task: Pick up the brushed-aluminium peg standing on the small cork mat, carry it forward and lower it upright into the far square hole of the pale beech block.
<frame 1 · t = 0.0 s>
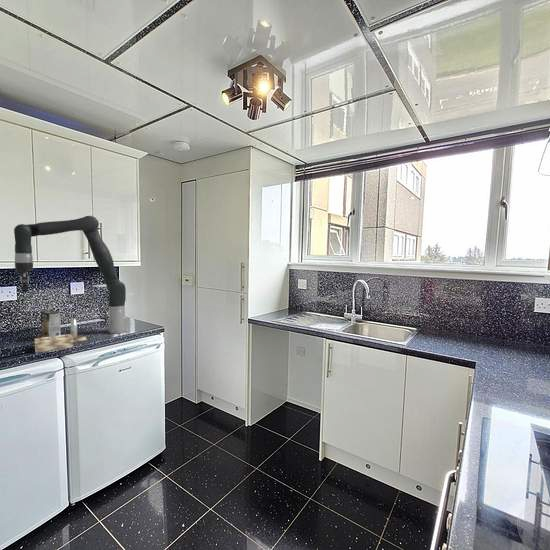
hand: (25, 291, 163), 29 cm above the counter, fingers open, 8 cm apart
peg: (74, 339, 174), resting on mat
mat: (78, 339, 176), on the counter
coffee box: (51, 339, 177), on the counter
hole block: (54, 347, 161), on the counter
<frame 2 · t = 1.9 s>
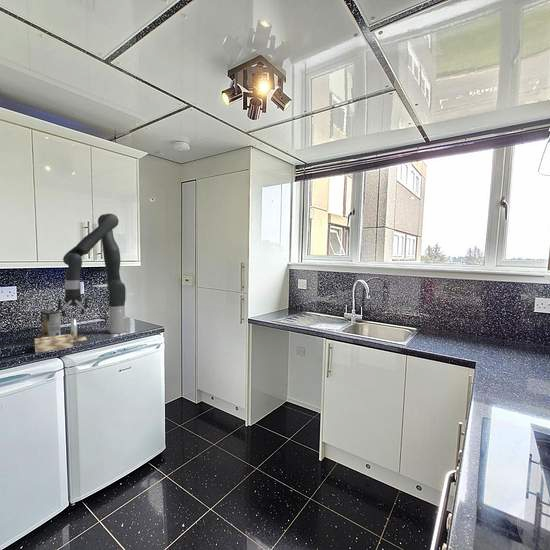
hand: (73, 315, 173), 14 cm above the counter, fingers open, 8 cm apart
nothing on the counter moved.
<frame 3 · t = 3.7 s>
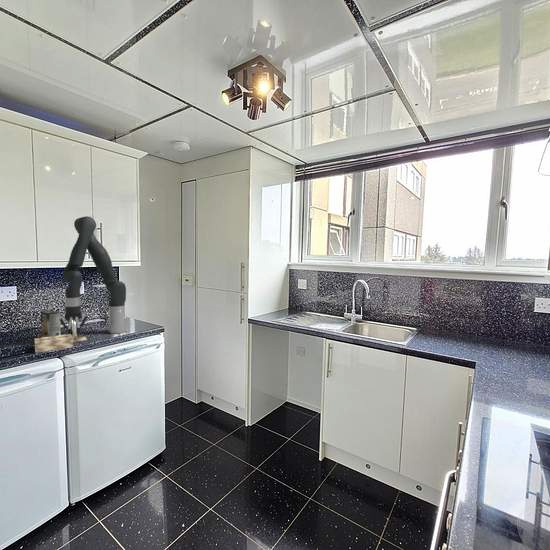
hand: (73, 334, 174), 4 cm above the counter, fingers closed on peg, 3 cm apart
peg: (74, 339, 174), resting on mat, touching gripper
everything else where it was.
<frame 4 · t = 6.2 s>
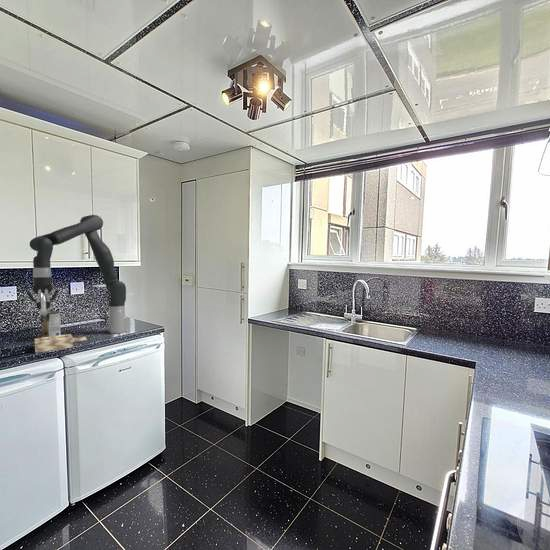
hand: (43, 308, 157), 21 cm above the counter, fingers closed on peg, 3 cm apart
peg: (43, 314, 157), point 18 cm above the counter, touching gripper
everything else where it was.
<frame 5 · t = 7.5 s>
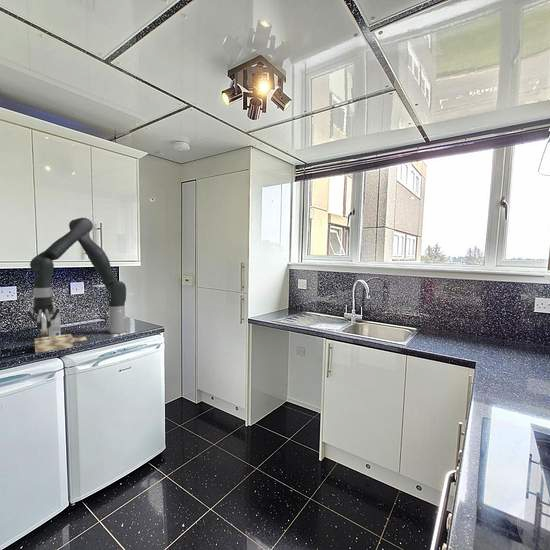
hand: (44, 328, 158), 11 cm above the counter, fingers closed on peg, 3 cm apart
peg: (44, 334, 158), point 8 cm above the counter, touching gripper
everything else where it was.
when the fingers open (6 cm above the counter, at t = 8.8 s): peg drops 3 cm, resting in hole block.
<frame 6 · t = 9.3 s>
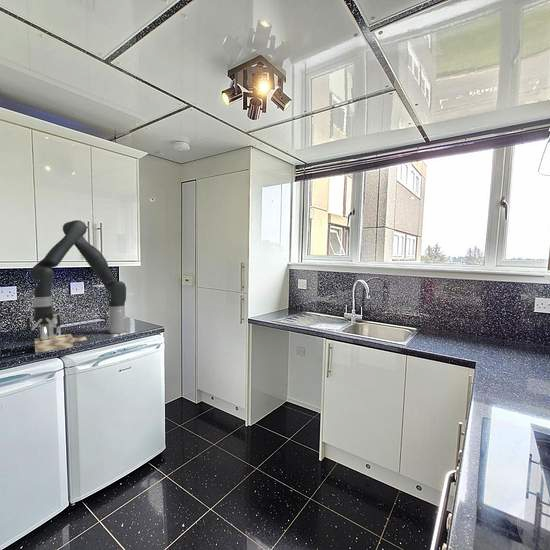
hand: (44, 335, 158), 7 cm above the counter, fingers open, 8 cm apart
peg: (45, 348, 159), resting in hole block
everything else where it was.
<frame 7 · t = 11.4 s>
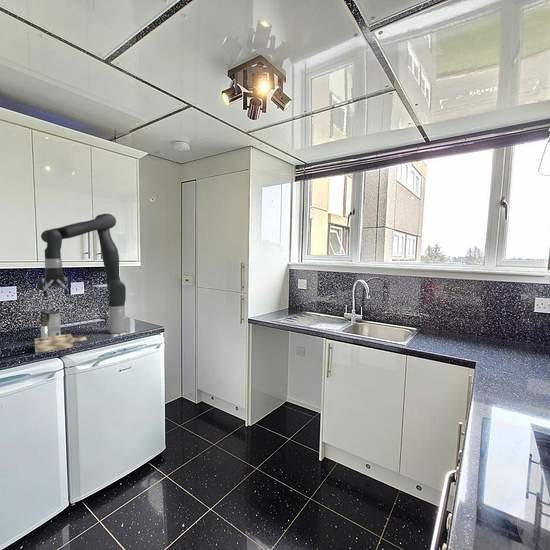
hand: (55, 296, 165), 27 cm above the counter, fingers open, 8 cm apart
nothing on the counter moved.
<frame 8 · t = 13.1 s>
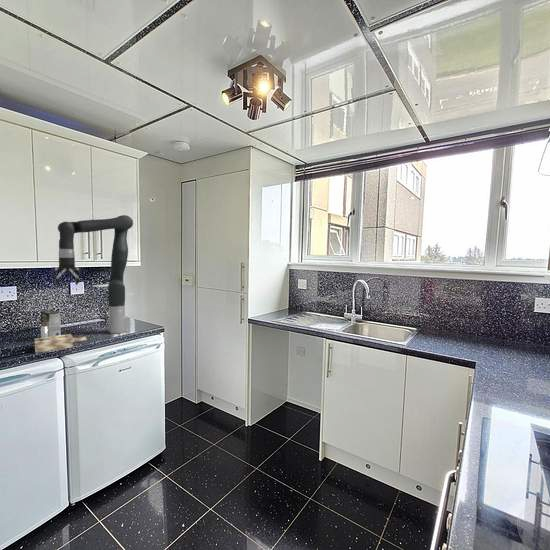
hand: (67, 284, 174), 32 cm above the counter, fingers open, 8 cm apart
nothing on the counter moved.
at the end: peg 0.1 cm from the target spot on the hole block, point 0.0 cm above the hole block's base; peg tilted 0°; the gripper is holding nothing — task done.
